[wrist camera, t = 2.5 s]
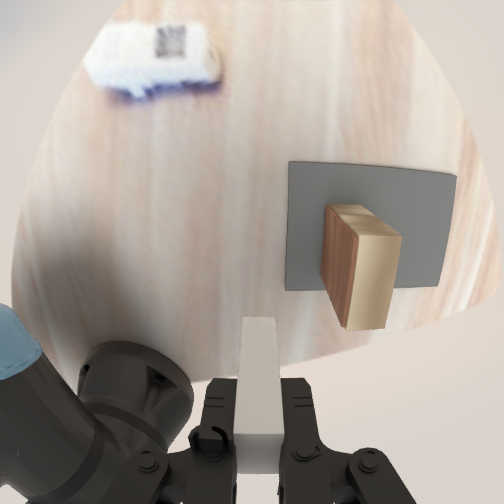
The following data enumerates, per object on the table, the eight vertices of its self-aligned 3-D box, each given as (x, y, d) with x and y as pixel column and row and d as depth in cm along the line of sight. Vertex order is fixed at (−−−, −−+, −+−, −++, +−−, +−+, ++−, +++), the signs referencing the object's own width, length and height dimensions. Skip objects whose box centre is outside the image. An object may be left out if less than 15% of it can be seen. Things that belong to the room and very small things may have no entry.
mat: (284, 287, 31) (285, 290, 30) (288, 161, 26) (289, 162, 26) (435, 283, 31) (437, 286, 30) (453, 175, 26) (456, 176, 26)
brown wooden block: (319, 276, 30) (341, 331, 21) (325, 203, 27) (355, 235, 19) (352, 275, 30) (384, 328, 21) (360, 204, 27) (402, 236, 19)
